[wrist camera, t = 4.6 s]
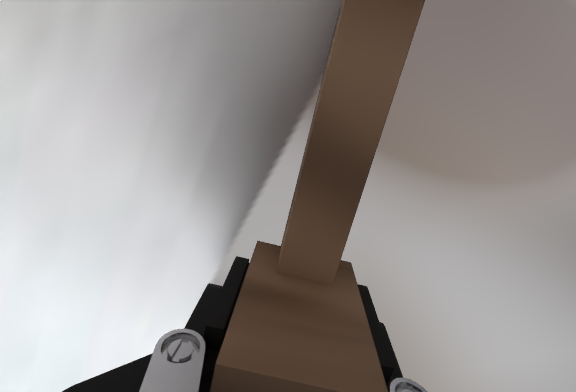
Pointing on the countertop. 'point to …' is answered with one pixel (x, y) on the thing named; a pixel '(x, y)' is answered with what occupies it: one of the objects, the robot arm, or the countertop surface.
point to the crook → (323, 227)
